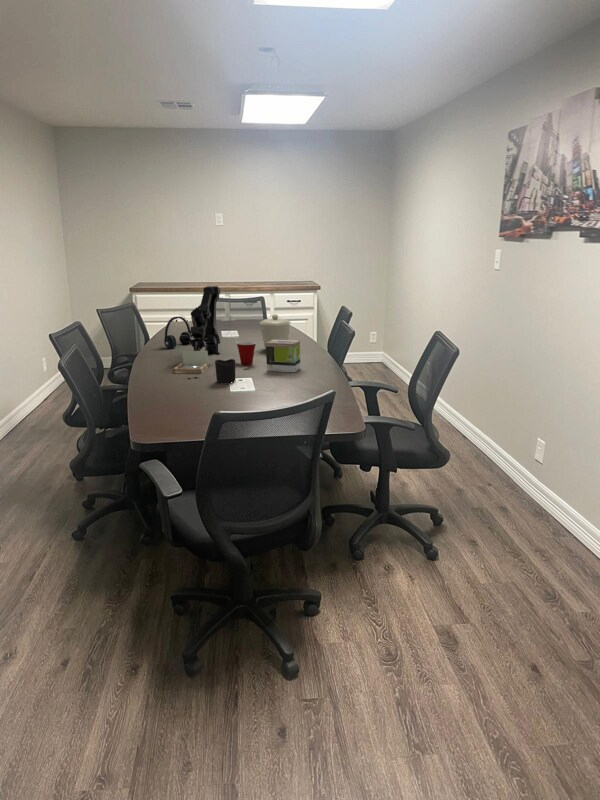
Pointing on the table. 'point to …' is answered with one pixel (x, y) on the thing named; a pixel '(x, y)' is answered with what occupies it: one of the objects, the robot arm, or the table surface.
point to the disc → (192, 366)
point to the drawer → (195, 358)
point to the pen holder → (225, 371)
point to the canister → (275, 329)
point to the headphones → (170, 339)
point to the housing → (178, 370)
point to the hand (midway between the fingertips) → (195, 354)
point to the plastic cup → (246, 352)
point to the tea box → (283, 355)
